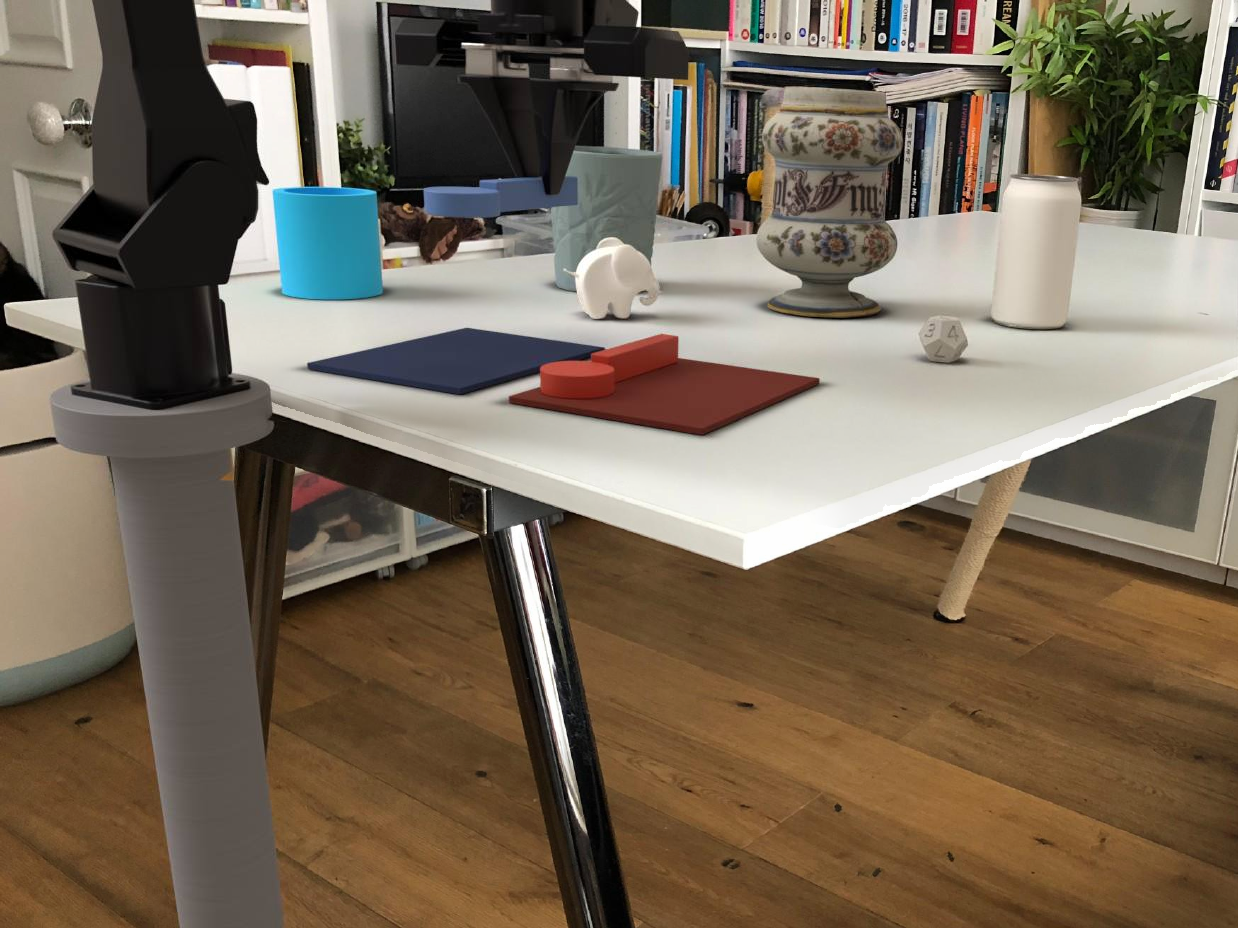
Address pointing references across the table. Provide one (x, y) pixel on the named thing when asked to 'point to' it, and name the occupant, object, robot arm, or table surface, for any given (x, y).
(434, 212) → the blue spoon
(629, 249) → the elephant figurine
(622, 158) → the green plant pot
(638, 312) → the table surface
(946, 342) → the game die
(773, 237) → the apothecary jar
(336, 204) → the mug
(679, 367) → the red mat
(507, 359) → the blue mat
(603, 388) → the red spoon
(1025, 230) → the can
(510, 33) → the robot arm
